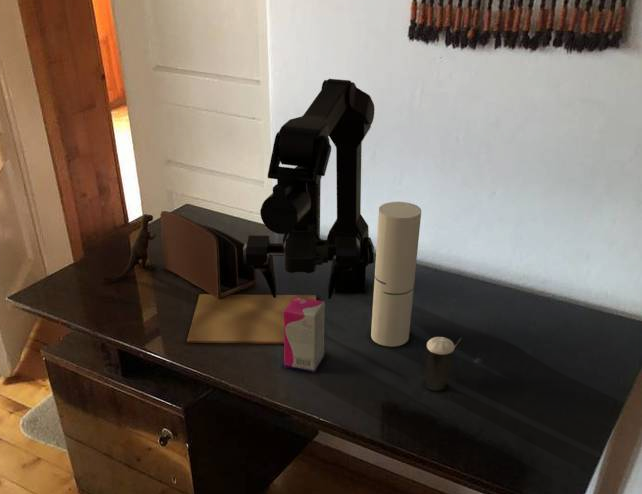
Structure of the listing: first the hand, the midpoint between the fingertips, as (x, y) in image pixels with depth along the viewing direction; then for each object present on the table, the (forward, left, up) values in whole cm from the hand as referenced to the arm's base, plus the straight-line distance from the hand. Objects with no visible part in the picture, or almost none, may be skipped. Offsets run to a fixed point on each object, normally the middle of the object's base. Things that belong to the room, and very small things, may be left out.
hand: (302, 297), depth 124 cm
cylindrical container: (-16, -9, -13) cm, 23 cm away
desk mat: (+10, -15, -13) cm, 22 cm away
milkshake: (-23, +7, -13) cm, 28 cm away
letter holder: (+20, -32, -13) cm, 40 cm away
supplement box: (0, 0, -13) cm, 13 cm away
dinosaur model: (+38, -34, -13) cm, 52 cm away
